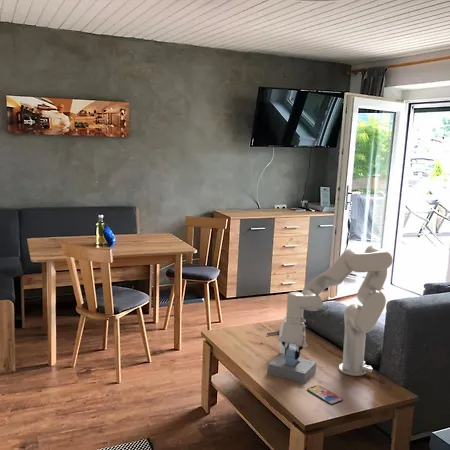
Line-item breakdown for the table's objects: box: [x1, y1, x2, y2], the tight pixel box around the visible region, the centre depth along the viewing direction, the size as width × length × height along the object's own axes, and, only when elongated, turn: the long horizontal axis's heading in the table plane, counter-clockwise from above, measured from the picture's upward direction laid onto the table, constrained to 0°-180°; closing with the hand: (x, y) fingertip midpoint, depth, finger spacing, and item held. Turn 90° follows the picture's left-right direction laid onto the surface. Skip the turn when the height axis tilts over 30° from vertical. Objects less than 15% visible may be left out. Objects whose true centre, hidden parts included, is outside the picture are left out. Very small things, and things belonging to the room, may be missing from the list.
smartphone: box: [306, 384, 343, 406], centre depth 218 cm, size 7×1×15 cm
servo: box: [284, 346, 298, 367], centre depth 237 cm, size 4×9×8 cm, turn 150°
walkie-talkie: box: [266, 329, 280, 336], centre depth 283 cm, size 9×4×20 cm
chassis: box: [267, 353, 317, 385], centre depth 238 cm, size 18×14×5 cm
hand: (292, 357), depth 237 cm, fingers closed on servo, 4 cm apart
